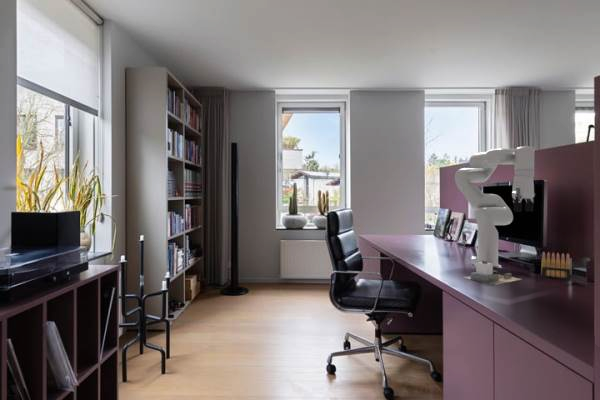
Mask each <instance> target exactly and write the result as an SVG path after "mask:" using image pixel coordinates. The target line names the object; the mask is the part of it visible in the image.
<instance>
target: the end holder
mask: <svg viewBox="0 0 600 400" xmlns="http://www.w3.org/2000/svg"><path fill="white" fill-rule="evenodd" d="M499 275H500V274H499ZM499 275H497V274H493V275H490V276H485V275H480V274H476V271H473V272H470V275H469V276H470V279H469V280H473V279H474V280H473V281H477V280H478V282H481V281H482V283H486V282H487V283H486V284H490V282H495V281H499Z"/></svg>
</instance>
